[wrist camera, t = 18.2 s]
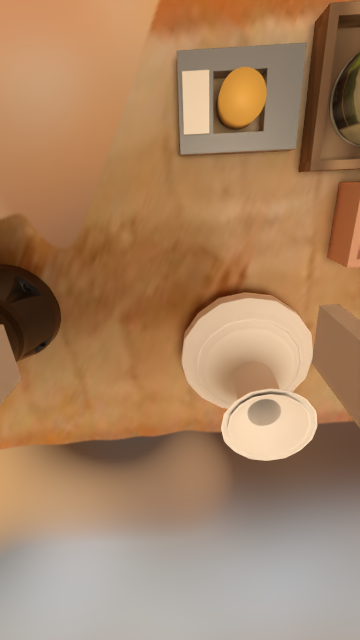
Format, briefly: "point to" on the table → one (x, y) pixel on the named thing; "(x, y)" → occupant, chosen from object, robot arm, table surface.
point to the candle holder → (253, 372)
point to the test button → (241, 97)
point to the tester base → (275, 118)
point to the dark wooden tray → (329, 89)
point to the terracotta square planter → (346, 226)
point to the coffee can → (347, 102)
